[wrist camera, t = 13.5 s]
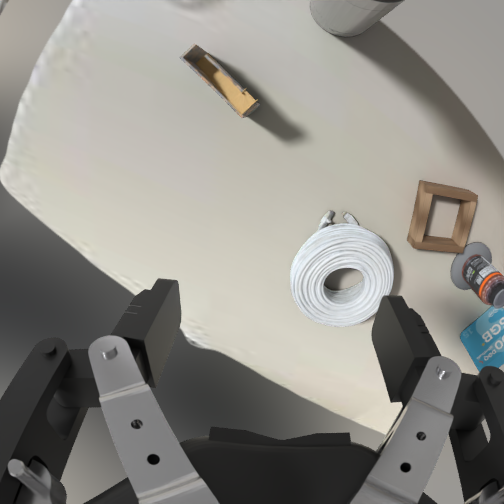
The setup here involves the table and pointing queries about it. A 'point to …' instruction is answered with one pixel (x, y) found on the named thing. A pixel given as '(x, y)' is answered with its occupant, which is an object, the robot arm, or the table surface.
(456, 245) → the walnut holder
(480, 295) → the supplement bottle
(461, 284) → the felt coaster
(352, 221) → the cable
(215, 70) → the grey brown narrow holder
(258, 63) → the table surface
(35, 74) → the table surface
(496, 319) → the data package
